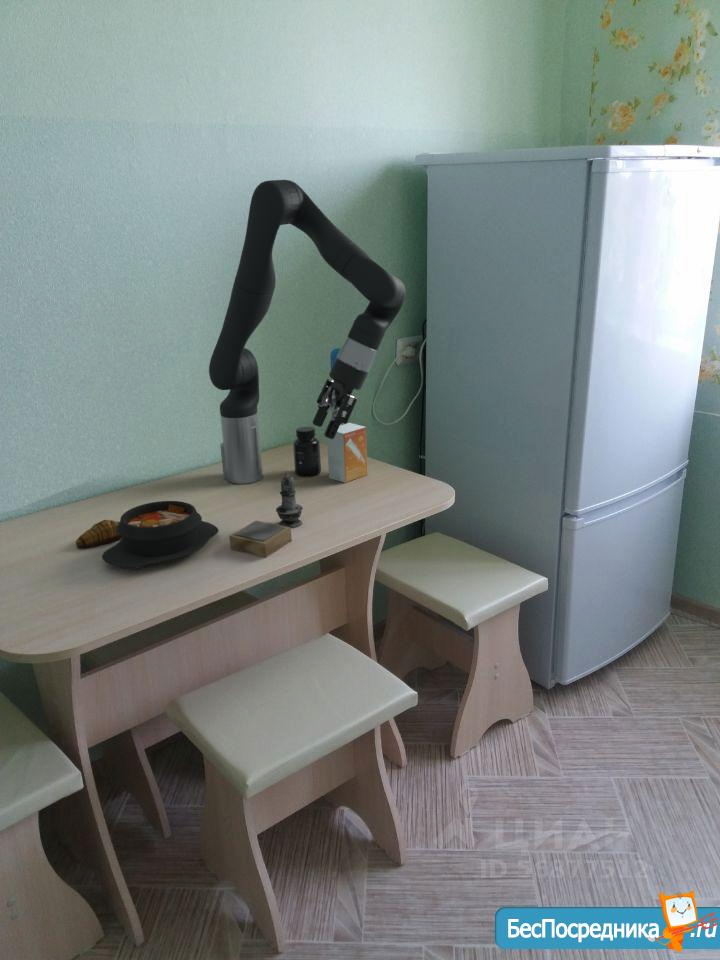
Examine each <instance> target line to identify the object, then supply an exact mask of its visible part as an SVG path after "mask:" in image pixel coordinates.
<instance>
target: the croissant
mask: <svg viewBox="0 0 720 960" xmlns="http://www.w3.org/2000/svg"><path fill="white" fill-rule="evenodd" d="M119 523H120V521H116V520H110V519H103V520H102V521H98V522H97V523H95V524H93V525H92V526H91V527H90V528H89V529H87V530H86V531H84V532H83V533H82V534H81V535H79V537H78V538H77V539H76V540H75V546H76V549H88V548H94V547H98V546H102V545H106V544H111V543H114V542H117V541H120V540H122V536H121V535H119V534H118V533H117V530H116V529H117V526H118V525H119Z"/></svg>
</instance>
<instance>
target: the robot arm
mask: <svg viewBox="0 0 720 960" xmlns="http://www.w3.org/2000/svg"><path fill="white" fill-rule="evenodd" d="M289 224H290V225H291V226H293V227H295V228H297V229H298V230H300V231H301V232H303V233H304V234H305V235H306V236H308V238H309V239H310V240H311V241H312V242H313V243H314V245H315V247H316V249H317V251H318V253H319V255H320V256H321V257H322V259H323V260H324V261H325V262H326V263H327V265H329V266H330V267H331V269H333V270H334V271H335V272H336V273H337V274H339V276H341V277H342V278H344V280H346V281H347V282H349V283H350V284H352V286H353V287H354V288H355V289H356V290H357V291H358V292H359V293H360V295H362V296H363V297H364V298H365V299H366V300H368V301H369V303H368V304H367V306H366V308H365V310H364V311H363V312H362V313H360V314H358V315H357V316H356V318H355V319H354V321H353V323H352V326H351V327H350V330H349V332H348V335H347V336H346V338H345V340H344V342H343V343H342V345H341V347H340V349H339V351H338V353H337V355H336V358H335V361H334V362H333V365H332V367H331V369H330V371H329V374H328V376H329V378H330V379H329V378H327V379H326V381H325V383H324V385H323V386H322V390H321V392H320V393H319V396H318V397H317V400H316V403H317V404H318V405H317V408H318V409H317V411H316V413H315V415H314V417H313V420H312V425H314V426H316V427H319V428H322V427H323V425H324V422H325V420H326V418H327V416H328V413H329V411H330V410H331V413H332V414H331V418H330V420H329V422H328V425H327V426H326V429H325V432H324V434H323V435H324V437H326V439H327V438H330V439H334V437H335V435H336V433H337V431H338V428H339V426H340V425H344V424H347V423H349V419H350V418H351V415H352V412H353V410H354V407H355V405H356V404H357V401H358V398H357V397H356V396H354V395H353V393H354V390H356V391H360V390H361V389H362V387H363V385H364V383H365V381H366V379H367V377H368V374H369V372H370V370H371V368H372V366H373V363H374V361H375V359H376V355H377V352H378V349H379V348H380V345H381V344H382V341H383V338H385V334H386V331H387V330H388V329H389V327H390V326H391V324H392V323H393V322H394V320H395V319H396V317H397V315H398V314H399V312H400V310H401V309H402V307H403V304H404V302H405V300H406V295H407V294H406V292H407V291H406V288H405V284H404V283H403V282H402V280H401V279H399V278H398V277H396V276H394V275H393V274H391V273H390V272H389V271H387V270H386V269H384V267H382V266H381V265H379V264H378V263H377V262H376V261H374V259H373V258H372V257H371V256H370V255H369V254H368V253H367V252H366V251H365V250H363V249H362V248H361V247H360V246H359V245H358V244H356V242H354V241H353V240H351V238H349V237H348V235H345V233H344V232H342V231H341V230H340V229H339V228H338V227H337V226H336V225H335V224H334V223H333V222H332V221H331V220H330V219H329V218H328V217H327V216H326V214H325V213H324V212H323V211H322V210H321V209H320V208H319V207H318V206H317V204H315V202H314V201H313V200H312V199H311V197H310V196H309V195H308V194H307V192H306V191H305V190H304V189H303V188H302V187H301V186H300V185H299V184H298V183H296V182H294V181H293V180H290V179H289V180H288V179H273V180H265V181H262V182H260V183H258V185H257V186H256V187H255V189H254V190H253V193H252V197H251V199H250V205H249V210H248V218H247V224H246V232H245V237H244V238H245V239H244V242H243V247H242V251H241V255H240V259H239V263H238V267H237V271H236V274H235V277H234V281H233V285H232V289H231V294H230V298H229V302H228V306H227V310H226V314H225V317H224V320H223V323H222V327H221V330H220V334H219V337H218V338H217V341H216V344H215V347H214V349H213V352H212V355H211V358H210V361H209V365H208V374H209V375H208V376H209V379H210V381H211V384H212V385H213V386H214V387H215V388H216V389H218V390H220V391H229V393H228V394H227V396H226V397H225V398H224V399H223V400H222V401H221V402H220V405H219V412H220V421H221V422H220V425H221V433H222V442H221V443H220V446H219V447H220V456H221V463H222V472H223V473H222V474H223V475H222V476H223V480H226V481H227V482H229V483H231V484H239V485H240V484H241V485H242V484H250V483H255V482H259V481H260V480H261V479H263V463H262V462H263V461H262V451H261V450H262V449H261V438H260V427H259V425H260V424H259V415H258V414H259V413H258V405H259V401H260V377H259V365H258V362H257V359H256V357H255V355H254V353H253V352H252V351H251V350H250V349H248V348H245V347H246V345H247V342H248V340H249V338H251V336H252V334H253V333H254V332H255V331H256V329H257V328H258V327H259V325H260V324H261V323H262V321H263V320H264V318H265V316H266V315H267V313H268V312H269V309H270V305H271V304H272V303H271V302H272V299H273V297H274V292H275V288H276V281H277V280H276V279H277V278H276V273H275V266H274V265H275V264H274V261H273V249H274V245H275V241H276V237H277V234H278V231H279V228H280V227H281V226H283V225H284V226H285V225H289Z"/></svg>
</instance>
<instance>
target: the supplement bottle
mask: <svg viewBox="0 0 720 960" xmlns="http://www.w3.org/2000/svg"><path fill="white" fill-rule="evenodd" d="M295 430H296V431H295V432H296V435H295V437H296V439H294V440H293V445H292V447H293V448H292V449H293V460H294V461H293V463H294V473H295V475H296V476H298V477H301V478H313V477H316V476H319V475H320V474H321V473H322V462H321V459H322V458H321V443H320V440H319V439H318V438H317V437H316V435H317V434H316V429H315V427H314V426H301V427H297V428H296V429H295Z"/></svg>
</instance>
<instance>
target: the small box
mask: <svg viewBox="0 0 720 960" xmlns="http://www.w3.org/2000/svg"><path fill="white" fill-rule="evenodd" d="M326 439H327V440H326V442H327V462H328V463H327V464H328V478H329V479H333V480H335V481H338V482H341V483H343V484H344V483H345V484H346V483H348V482H351V481H355V480H357V479H360V478H363V477H366V476H368V447H367V427H366V426H363V425H359V424H357V423H354V422H353V423H352V422H347V424H344V423H343V424H340V426H339V428H338V431H337V433H336V435H335V437H334V439H330V438H327V437H326Z"/></svg>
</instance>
